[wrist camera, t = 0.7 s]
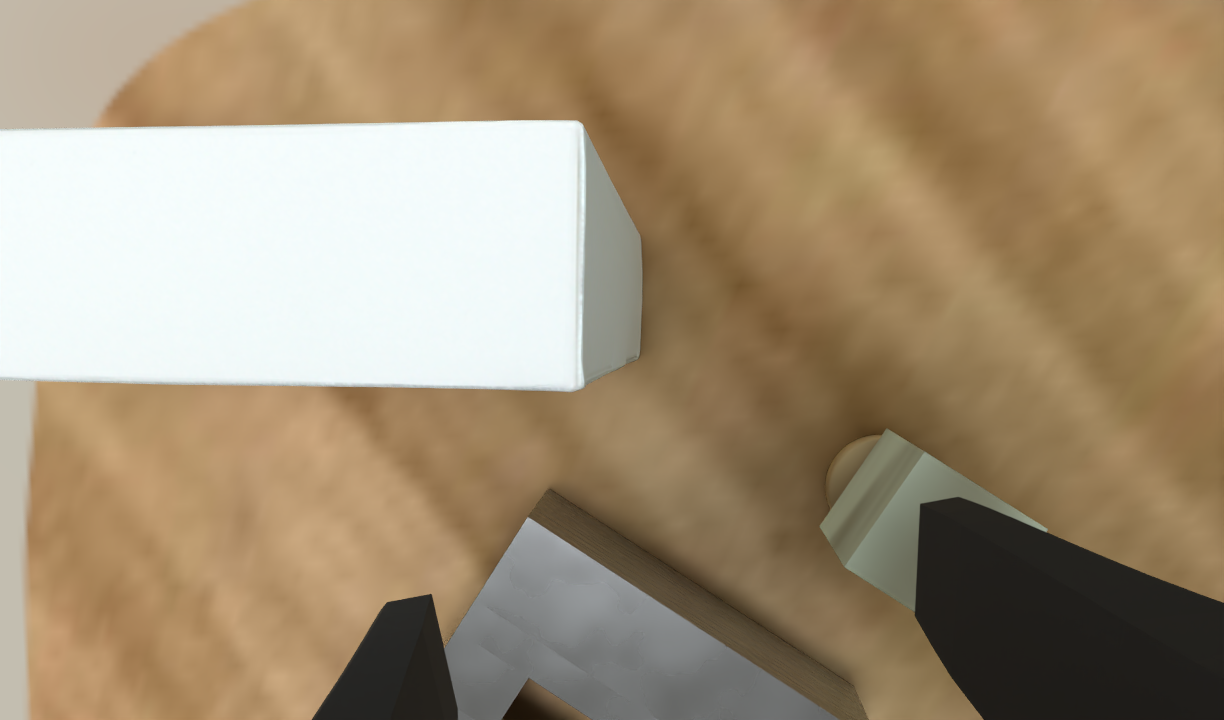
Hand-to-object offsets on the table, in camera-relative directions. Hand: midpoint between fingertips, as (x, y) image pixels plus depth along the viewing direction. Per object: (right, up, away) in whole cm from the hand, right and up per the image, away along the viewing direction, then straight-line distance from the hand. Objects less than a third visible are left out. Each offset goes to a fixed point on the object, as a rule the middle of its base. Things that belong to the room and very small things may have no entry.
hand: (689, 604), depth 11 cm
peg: (+9, -1, +18) cm, 20 cm away
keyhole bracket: (-1, -10, +19) cm, 22 cm away
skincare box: (-10, +6, +19) cm, 23 cm away
